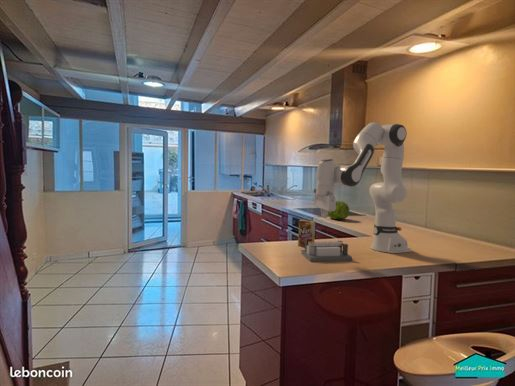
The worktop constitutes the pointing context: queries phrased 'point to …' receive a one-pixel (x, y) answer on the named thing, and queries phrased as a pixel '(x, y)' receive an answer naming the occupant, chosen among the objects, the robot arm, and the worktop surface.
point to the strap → (325, 243)
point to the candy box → (306, 231)
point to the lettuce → (339, 211)
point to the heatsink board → (327, 258)
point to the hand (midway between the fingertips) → (324, 217)
